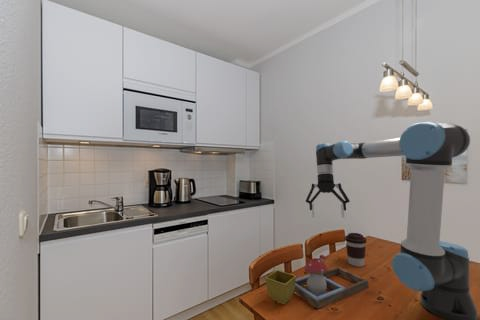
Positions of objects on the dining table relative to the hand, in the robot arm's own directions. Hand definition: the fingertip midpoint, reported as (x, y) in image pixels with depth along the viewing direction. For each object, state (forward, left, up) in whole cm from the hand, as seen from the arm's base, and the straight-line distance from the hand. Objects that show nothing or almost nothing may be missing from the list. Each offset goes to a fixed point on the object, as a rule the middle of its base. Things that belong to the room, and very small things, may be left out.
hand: (328, 217), depth 115 cm
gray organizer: (-11, +13, -26) cm, 31 cm away
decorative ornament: (-11, +20, -26) cm, 35 cm away
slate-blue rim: (-11, +20, -23) cm, 32 cm away
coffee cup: (-1, -18, -26) cm, 31 cm away
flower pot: (-8, +35, -26) cm, 44 cm away
